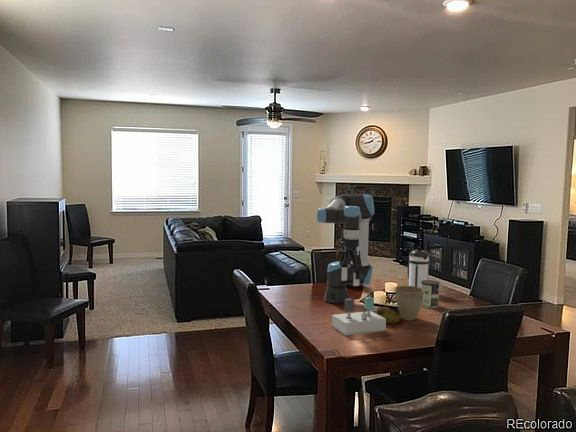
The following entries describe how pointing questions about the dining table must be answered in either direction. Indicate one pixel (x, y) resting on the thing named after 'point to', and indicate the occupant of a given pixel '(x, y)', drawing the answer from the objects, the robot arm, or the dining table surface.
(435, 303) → the coffee can
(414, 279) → the coffee press
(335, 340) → the dining table surface
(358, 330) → the panel
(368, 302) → the knob teal
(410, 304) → the plant pot
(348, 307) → the knob charcoal
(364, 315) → the trim pot
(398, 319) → the potato
